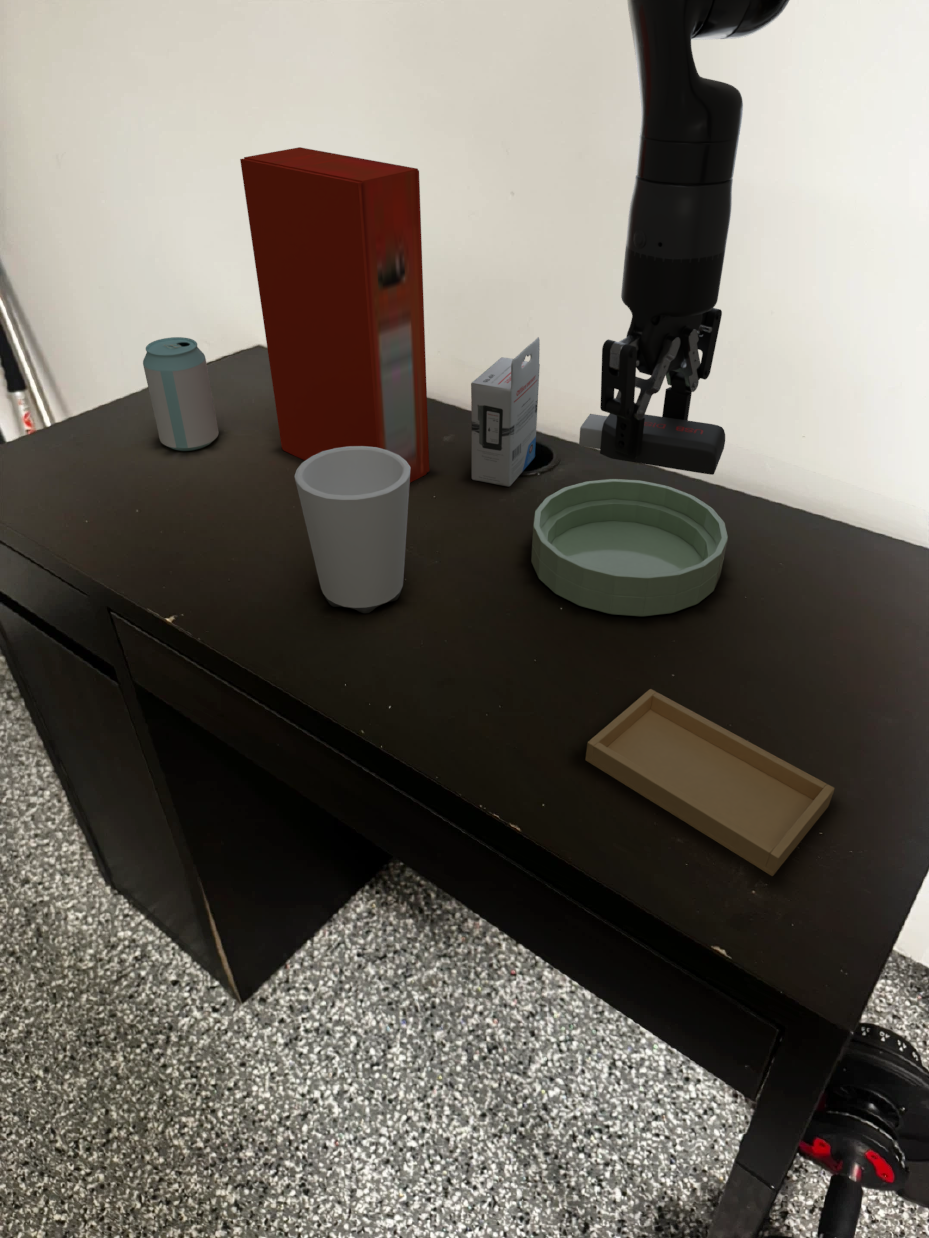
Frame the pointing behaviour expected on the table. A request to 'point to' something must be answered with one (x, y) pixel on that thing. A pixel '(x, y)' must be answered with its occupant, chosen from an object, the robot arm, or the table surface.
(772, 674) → the table surface
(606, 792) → the table surface
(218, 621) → the table surface
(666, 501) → the green round dish
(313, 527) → the cup
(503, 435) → the ink box
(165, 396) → the can
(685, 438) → the usb drive
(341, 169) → the file binder
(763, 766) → the tray
